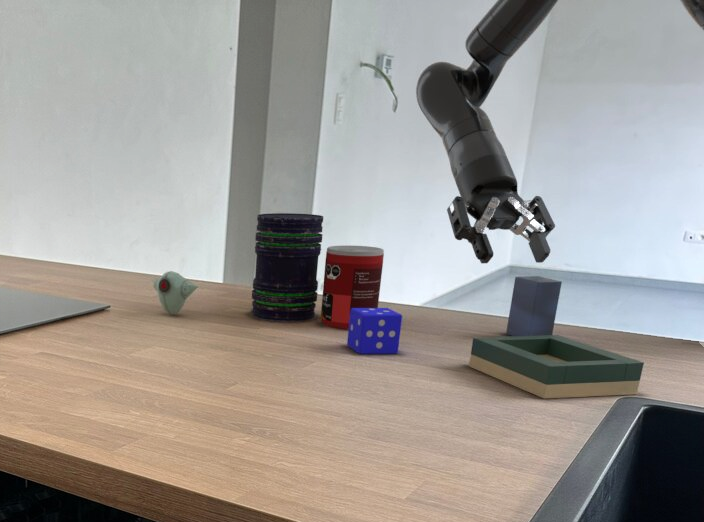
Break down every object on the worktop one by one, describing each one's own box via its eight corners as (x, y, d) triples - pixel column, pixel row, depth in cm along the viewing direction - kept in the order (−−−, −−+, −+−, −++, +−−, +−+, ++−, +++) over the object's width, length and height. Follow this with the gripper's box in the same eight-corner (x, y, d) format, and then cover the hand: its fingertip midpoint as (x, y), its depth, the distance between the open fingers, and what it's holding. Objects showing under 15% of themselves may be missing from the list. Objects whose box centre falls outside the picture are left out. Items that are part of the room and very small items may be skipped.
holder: (551, 363, 104) (556, 334, 103) (637, 394, 91) (644, 362, 90) (468, 366, 103) (472, 337, 101) (543, 398, 90) (549, 366, 88)
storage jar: (284, 307, 139) (291, 212, 134) (329, 317, 131) (338, 216, 126) (237, 313, 134) (242, 214, 129) (280, 324, 126) (288, 219, 121)
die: (398, 354, 109) (402, 314, 107) (359, 354, 108) (363, 315, 107) (383, 345, 113) (388, 307, 112) (346, 345, 113) (350, 307, 111)
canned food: (326, 317, 131) (332, 244, 127) (379, 322, 128) (388, 247, 124) (314, 326, 125) (321, 249, 121) (371, 331, 121) (379, 252, 118)
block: (528, 333, 121) (538, 276, 118) (551, 340, 116) (562, 281, 114) (505, 334, 120) (515, 276, 118) (528, 341, 116) (538, 281, 113)
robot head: (199, 316, 131) (201, 272, 129) (182, 320, 129) (184, 275, 126) (159, 310, 137) (160, 267, 134) (142, 313, 134) (143, 269, 132)
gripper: (449, 152, 123) (483, 243, 116) (539, 152, 125) (578, 241, 118) (425, 189, 129) (456, 277, 122) (511, 188, 131) (546, 275, 125)
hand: (515, 259), depth 120 cm, fingers open, 8 cm apart
